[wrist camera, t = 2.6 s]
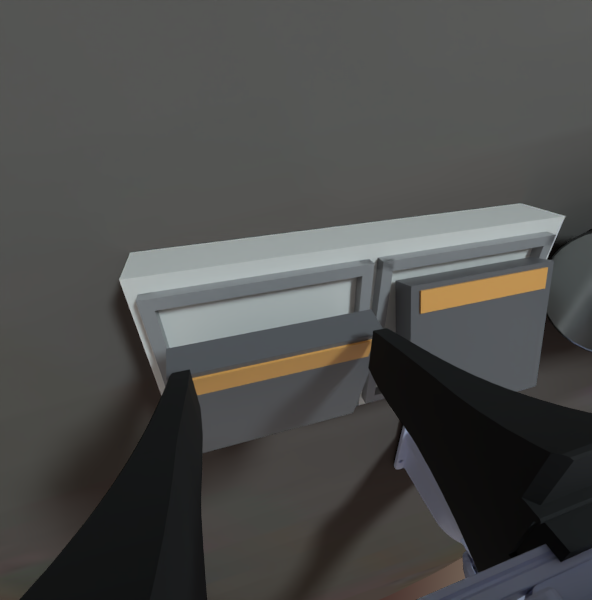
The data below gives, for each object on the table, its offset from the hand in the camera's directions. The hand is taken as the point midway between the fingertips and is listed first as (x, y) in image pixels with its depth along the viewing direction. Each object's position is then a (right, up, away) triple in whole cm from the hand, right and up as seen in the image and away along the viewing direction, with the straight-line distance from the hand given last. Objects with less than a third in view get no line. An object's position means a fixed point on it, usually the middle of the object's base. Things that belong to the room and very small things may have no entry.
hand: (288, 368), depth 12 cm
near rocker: (-1, -1, +4) cm, 4 cm away
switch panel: (+4, +2, +9) cm, 10 cm away
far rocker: (+10, +1, +7) cm, 12 cm away
